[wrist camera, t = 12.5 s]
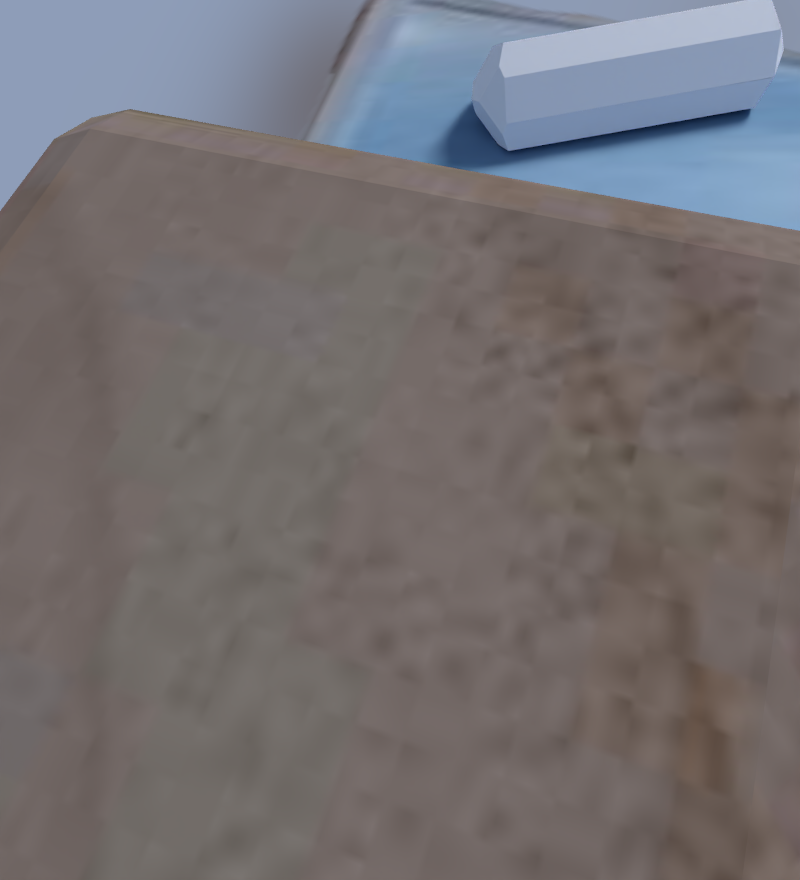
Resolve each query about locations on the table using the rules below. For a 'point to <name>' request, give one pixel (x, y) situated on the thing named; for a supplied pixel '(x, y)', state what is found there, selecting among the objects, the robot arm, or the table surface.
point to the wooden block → (390, 522)
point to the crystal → (628, 74)
